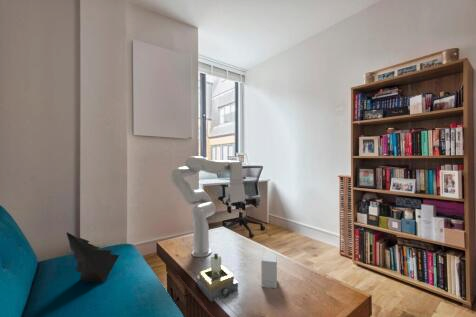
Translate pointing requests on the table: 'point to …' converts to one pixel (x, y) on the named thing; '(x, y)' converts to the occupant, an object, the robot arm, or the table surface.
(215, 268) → the pale green bottle
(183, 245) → the table surface
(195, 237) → the robot arm
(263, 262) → the supplement box
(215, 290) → the grey and gold box
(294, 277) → the table surface
